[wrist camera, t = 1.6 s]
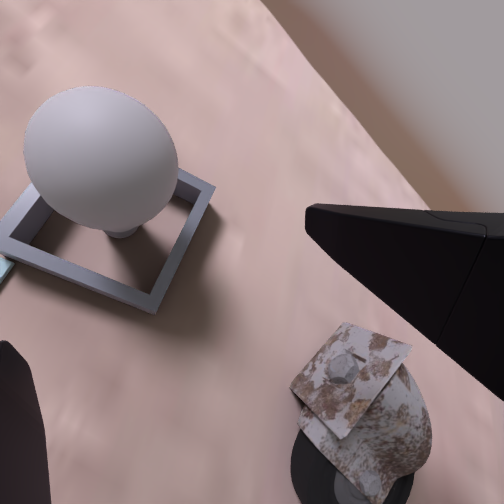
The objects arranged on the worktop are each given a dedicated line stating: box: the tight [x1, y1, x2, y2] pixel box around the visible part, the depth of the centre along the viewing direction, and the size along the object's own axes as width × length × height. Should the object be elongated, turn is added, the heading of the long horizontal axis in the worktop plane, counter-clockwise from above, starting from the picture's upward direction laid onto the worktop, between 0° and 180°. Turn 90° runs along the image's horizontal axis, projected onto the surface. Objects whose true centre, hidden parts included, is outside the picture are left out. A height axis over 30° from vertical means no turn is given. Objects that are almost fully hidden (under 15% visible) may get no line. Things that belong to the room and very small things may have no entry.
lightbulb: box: [23, 86, 179, 238], centre depth 15 cm, size 6×6×11 cm
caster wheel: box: [289, 322, 432, 504], centre depth 19 cm, size 7×11×10 cm
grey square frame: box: [0, 168, 216, 315], centre depth 19 cm, size 10×10×2 cm
